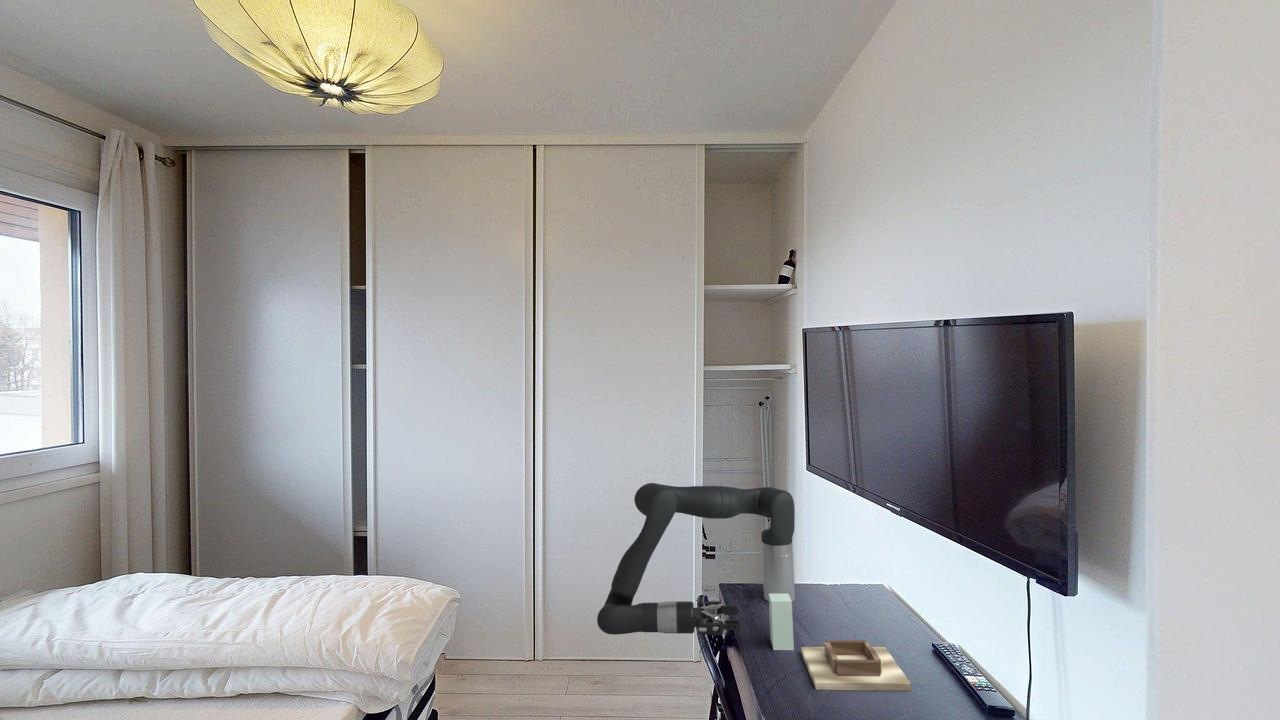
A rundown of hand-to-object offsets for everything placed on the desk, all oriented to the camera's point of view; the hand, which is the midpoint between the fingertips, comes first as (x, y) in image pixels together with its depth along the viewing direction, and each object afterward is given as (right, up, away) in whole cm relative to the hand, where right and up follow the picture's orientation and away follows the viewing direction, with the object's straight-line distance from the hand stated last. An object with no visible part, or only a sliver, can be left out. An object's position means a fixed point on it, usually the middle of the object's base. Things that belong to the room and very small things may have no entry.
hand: (739, 617), depth 144 cm
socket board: (+24, -6, -14) cm, 28 cm away
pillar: (+11, -7, -1) cm, 13 cm away
